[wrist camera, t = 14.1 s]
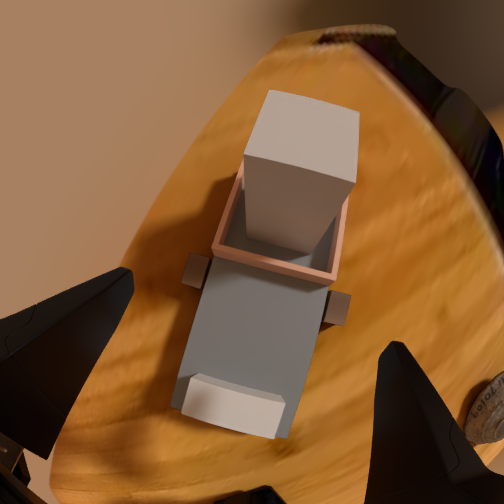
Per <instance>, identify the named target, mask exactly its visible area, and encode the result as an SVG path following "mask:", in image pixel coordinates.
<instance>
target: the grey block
mask: <svg viewBox="0 0 504 504" xmlns="http://www.w3.org/2000/svg"><path fill="white" fill-rule="evenodd" d="M358 141H359V112H357V111H354V110H351V109H348V108H345V107H341V106H338V105H334V104H331V103H327V102H324V101H320V100H316V99H312V98H308V97H304V96H300V95H295V94H290V93H286V92H281V91H276V90H269V92H268V95H267V97H266V99H265V102H264V104H263V107H262V109H261V111H260V114H259V116H258V119H257V121H256V124H255V126H254V129H253V131H252V134H251V136H250V139H249V141H248V144H247V146H246V149H245V151H244V154H243V157H244V183H245V209H246V233H247V238H249V239H253V240H257V241H260V242H264V243H268V244H272V245H276V246H280V247H283V248H287V249H291V250H295V251H299V252H302V253H306V254H310V255H311V253H312V252H313V250H314V249H315V247H316V246H317V244H318V243H319V241H320V239H321V238H322V236H323V235H324V233H325V232H326V230H327V229H328V227H329V225H330V224H331V222H332V221H333V219H334V218H335V216H336V214H337V213H338V211H339V210H340V208H341V206H342V205H343V203H344V202H345V200H346V198H347V197H348V195H349V193H350V192H351V190H352V189H353V187H354V185H355V184H356V174H357V160H358Z"/></svg>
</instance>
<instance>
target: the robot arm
mask: <svg viewBox="0 0 504 504" xmlns="http://www.w3.org/2000/svg"><path fill="white" fill-rule="evenodd" d="M133 293H134V281H133V273H132V271H131V270H130V269H127V268H124V267H119V268H116V269H114V270H112V271H109V272H107V273H105V274H102V275H100V276H98V277H95V278H93V279H91V280H89V281H86V282H84V283H81V284H79V285H77V286H75V287H72V288H70V289H68V290H66V291H63V292H61V293H59V294H57V295H55V296H52V297H50V298H48V299H46V300H44V301H42V302H39V303H37V305H36V304H35V305H33V306H31V307H29V308H26V309H24V310H22V311H20V312H18V313H15V314H13V315H10V316H8V317H6V318H2V319H0V504H47V503H46V502H45V501H43V500H42V499H41V498H40V497H38V496H37V495H36V494H35V493H33V492H32V491H31V490H30V489H28V488H27V486H28V484H29V482H30V480H31V478H30V474H29V471H28V468H27V464H26V461H25V457H24V453H23V450H24V448H25V449H27V450H29V451H31V452H32V453H34V454H36V455H38V456H39V457H41V458H43V459H45V460H47V459H48V457H49V455H50V453H51V451H52V448H53V446H54V444H55V442H56V439H57V437H58V435H59V433H60V431H61V429H62V427H63V425H64V423H65V421H66V418H67V416H68V414H69V412H70V410H71V408H72V406H73V404H74V402H75V400H76V399H77V397H78V395H79V393H80V391H81V389H82V387H83V385H84V384H85V382H86V380H87V378H88V376H89V374H90V373H91V371H92V369H93V367H94V366H95V364H96V362H97V360H98V359H99V357H100V355H101V353H102V352H103V350H104V348H105V347H106V345H107V343H108V342H109V340H110V338H111V337H112V335H113V333H114V332H115V330H116V328H117V326H118V324H119V322H120V320H121V318H122V316H123V314H124V312H125V310H126V308H127V306H128V304H129V302H130V300H131V298H132V296H133ZM266 490H269V491H266ZM213 504H287V503H286V502H285V501H284V500H283V499H282V498H281V497H280V496H279V495H278V493H277V492H276V491H275V490H274V489H273V488H272V487H271V486H264V487H262V488H259V489H256V490H253V491H250V492H246V493H243V494H240V495H236V496H233V497H230V498H226V499H224V500H220V501H216V502H214V503H213ZM364 504H504V476H503V475H500V474H497V473H494V472H492V471H491V470H489V469H488V468H487V467H486V466H485V465H484V463H483V462H482V460H481V459H480V457H479V456H478V454H477V453H476V451H475V450H474V449H473V447H472V446H471V444H470V443H469V441H468V440H467V438H466V437H465V435H464V434H463V432H462V430H461V429H460V427H459V426H458V424H457V422H456V421H455V419H454V418H453V417H452V414H451V413H450V411H449V409H448V408H447V406H446V405H445V403H444V402H443V400H442V398H441V397H440V395H439V394H438V392H437V391H436V389H435V388H434V386H433V385H432V383H431V382H430V380H429V379H428V377H427V376H426V374H425V373H424V371H423V370H422V368H421V367H420V366H419V364H418V363H417V361H416V360H415V358H414V357H413V356H412V354H411V353H410V351H409V350H408V349H407V347H406V346H405V344H404V343H403V342H399V341H392V342H390V343H389V345H388V346H387V347H386V348H385V350H384V351H383V352H382V353H381V355H380V357H379V360H378V371H377V381H376V389H375V398H374V421H373V437H372V449H371V459H370V468H369V476H368V483H367V489H366V495H365V501H364Z"/></svg>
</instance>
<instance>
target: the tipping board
mask: <svg viewBox="0 0 504 504" xmlns="http://www.w3.org/2000/svg"><path fill="white" fill-rule="evenodd" d="M348 198H349V195H348V197H347V198H346V200H345V202H344V203H343V205H342V206H341V208H340V210H339V211H338V213H337V214H336V216H335V218H334V219H333V221H332V222H331V224H330V225H329V227H328V229H327V230H326V232H325V233H324V235H323V236H322V238H321V239H320V241H319V243H318V244H317V246H316V247H315V249H314V250H313V252H312V253H311V255H310V254H306V253H302V252H299V251H295V250H291V249H287V248H283V247H280V246H276V245H272V244H268V243H264V242H260V241H257V240H253V239H249V238H247V233H246V209H245V183H244V158H243V161H242V163H241V166H240V168H239V171H238V174H237V176H236V179H235V182H234V185H233V187H232V190H231V193H230V195H229V198H228V201H227V204H226V206H225V209H224V212H223V215H222V218H221V221H220V223H219V226H218V229H217V232H216V235H215V238H214V241H213V244H212V247H211V249H212V251H213V254H214V258H213V262H212V265H211V268H210V271H209V274H208V277H207V280H206V283H205V286H204V289H203V293H202V296H201V299H200V302H199V305H198V309H197V312H196V315H195V318H194V322H193V325H192V328H191V332H190V335H189V338H188V342H187V345H186V349H185V352H184V355H183V359H182V362H181V366H180V369H179V373H178V377H177V380H176V384H175V387H174V391H173V395H172V398H171V402H170V407H173V408H175V409H178V410H181V414H183V415H186V416H189V417H192V418H195V419H198V420H201V421H204V422H207V423H211V424H214V425H217V426H221V427H224V428H228V429H232V430H235V431H239V432H243V433H248V434H252V435H256V436H261V437H266V438H271V439H274V437H281V438H286V439H287V437H288V434H289V431H290V428H291V425H292V422H293V419H294V416H295V413H296V410H297V407H298V404H299V401H300V397H301V394H302V391H303V387H304V384H305V381H306V377H307V374H308V370H309V366H310V363H311V359H312V355H313V352H314V348H315V344H316V340H317V336H318V332H319V328H320V323H321V319H322V315H323V310H324V306H325V301H326V297H327V292H328V287H329V285H331V284H332V283H333V282H335V281H336V277H337V271H338V266H339V260H340V254H341V248H342V242H343V235H344V229H345V221H346V214H347V206H348Z"/></svg>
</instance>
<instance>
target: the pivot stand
mask: <svg viewBox="0 0 504 504" xmlns="http://www.w3.org/2000/svg"><path fill="white" fill-rule="evenodd" d="M212 262H213V261H212V260H211V259H210V258H209V257H205V256H201V255H198V254H194V253H191V252H190V253H189V257H188V260H187V263H186V266H185V269H184V273H183V276H182V279H181V283H183V284H186V285H188V286H191V287H195V288H198V289H201V290H203V289H204V286H205V283H206V280H207V277H208V274H209V271H210V268H211V265H212ZM350 299H351V295H349V294H345V293H341V292H337V291H333V290H331V291H328V292H327V297H326V301H325V306H324V310H323V315H322V319H321V322H326V323H330V324H334V325H340V326H344V324H345V320H346V316H347V312H348V308H349V303H350Z"/></svg>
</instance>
